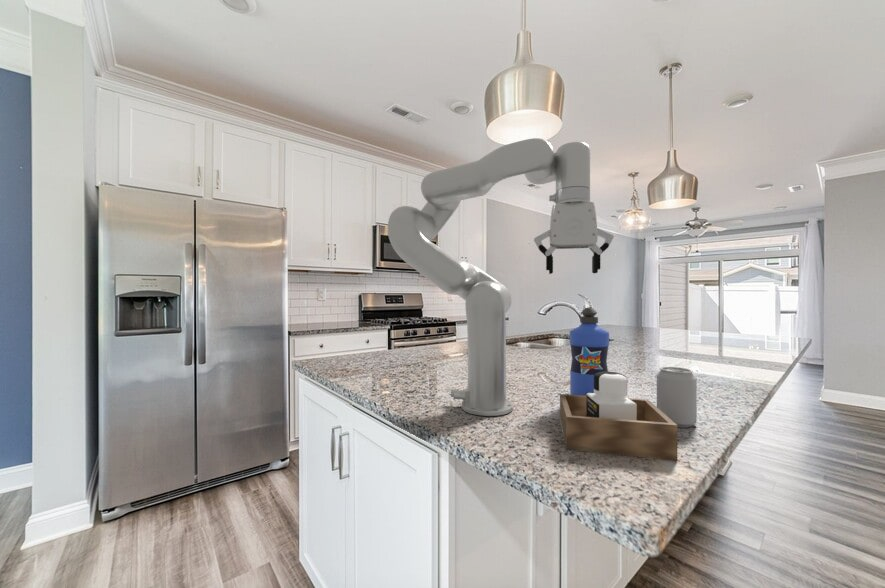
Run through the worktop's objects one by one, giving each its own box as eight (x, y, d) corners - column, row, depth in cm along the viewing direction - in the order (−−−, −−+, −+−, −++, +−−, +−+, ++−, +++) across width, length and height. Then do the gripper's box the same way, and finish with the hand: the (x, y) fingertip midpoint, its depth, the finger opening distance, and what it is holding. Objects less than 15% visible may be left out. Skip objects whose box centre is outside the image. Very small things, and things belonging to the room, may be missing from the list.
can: (703, 429, 77) (703, 372, 77) (664, 427, 79) (664, 371, 79) (687, 418, 85) (687, 366, 85) (651, 416, 86) (651, 364, 86)
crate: (566, 449, 67) (566, 416, 67) (559, 420, 83) (559, 394, 83) (677, 460, 63) (677, 425, 63) (648, 427, 78) (648, 399, 78)
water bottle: (570, 399, 99) (570, 307, 99) (608, 403, 96) (608, 307, 96) (568, 409, 91) (568, 308, 91) (610, 414, 87) (610, 308, 87)
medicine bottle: (585, 426, 76) (585, 369, 77) (621, 427, 76) (621, 369, 76) (598, 440, 69) (598, 376, 69) (637, 441, 69) (637, 377, 69)
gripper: (534, 197, 83) (534, 272, 83) (616, 192, 79) (616, 271, 79) (533, 205, 91) (533, 274, 91) (609, 201, 87) (609, 273, 87)
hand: (572, 273), depth 85 cm, fingers open, 9 cm apart
